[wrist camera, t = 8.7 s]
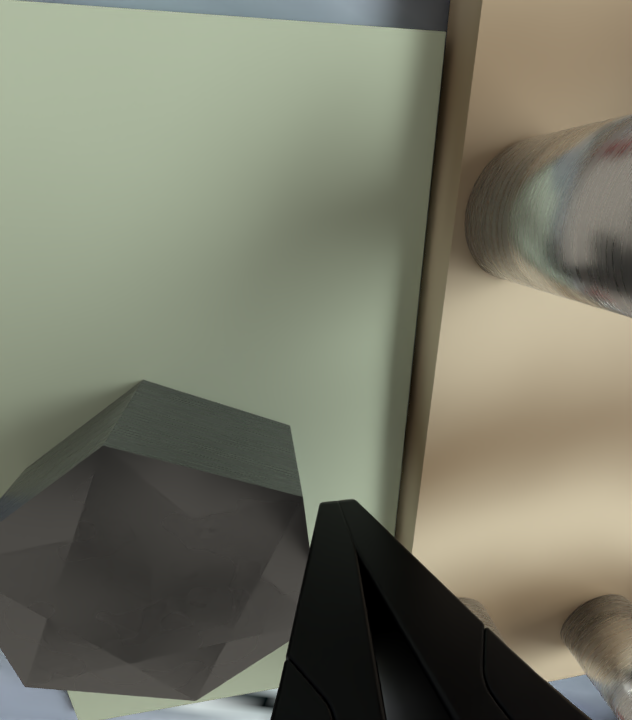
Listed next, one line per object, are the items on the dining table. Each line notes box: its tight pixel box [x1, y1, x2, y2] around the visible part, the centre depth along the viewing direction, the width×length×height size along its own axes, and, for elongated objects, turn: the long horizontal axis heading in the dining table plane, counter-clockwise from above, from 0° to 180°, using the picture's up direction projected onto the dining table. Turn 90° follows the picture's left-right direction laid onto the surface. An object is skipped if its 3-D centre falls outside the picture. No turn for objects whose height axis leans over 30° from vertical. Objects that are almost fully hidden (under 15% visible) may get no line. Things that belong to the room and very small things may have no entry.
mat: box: [0, 0, 446, 720], centre depth 10 cm, size 18×10×1 cm, turn 0°
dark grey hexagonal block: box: [0, 380, 310, 701], centre depth 9 cm, size 7×6×2 cm
